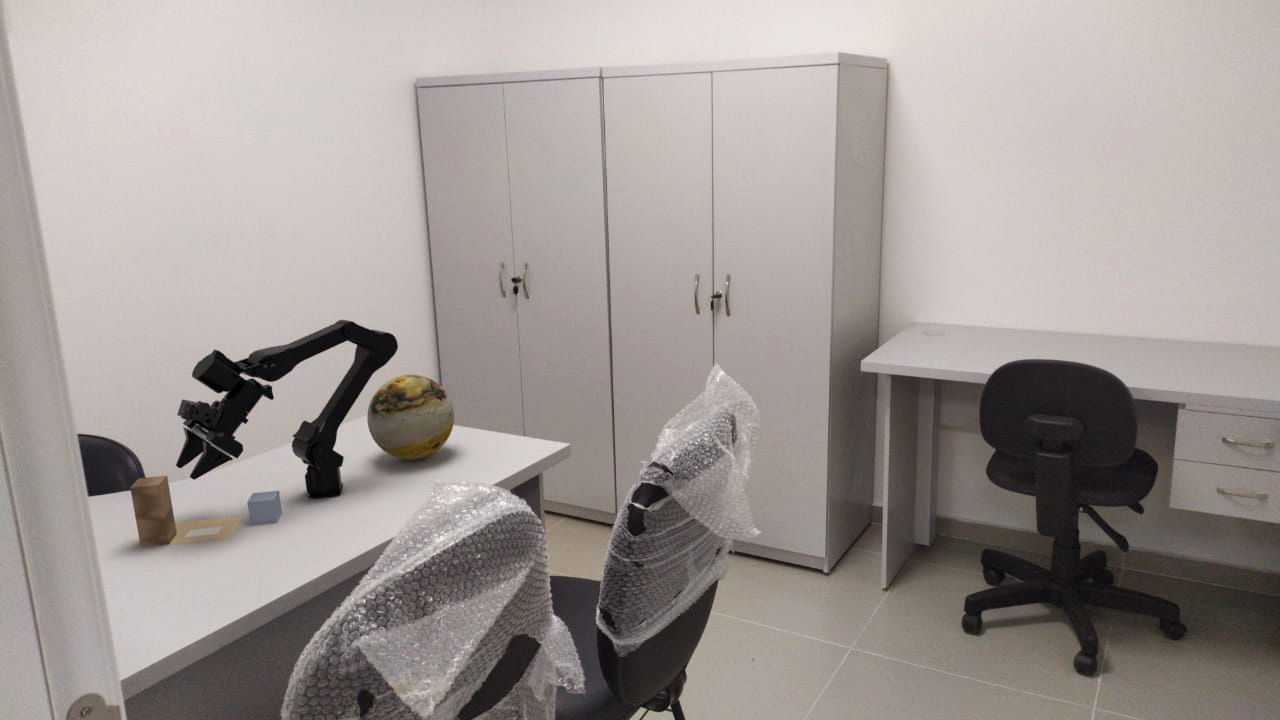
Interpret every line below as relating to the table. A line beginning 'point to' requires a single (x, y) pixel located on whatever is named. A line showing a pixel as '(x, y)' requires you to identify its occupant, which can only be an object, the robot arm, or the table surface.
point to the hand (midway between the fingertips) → (184, 472)
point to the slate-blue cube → (264, 507)
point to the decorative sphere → (410, 417)
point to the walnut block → (153, 511)
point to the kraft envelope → (205, 530)
